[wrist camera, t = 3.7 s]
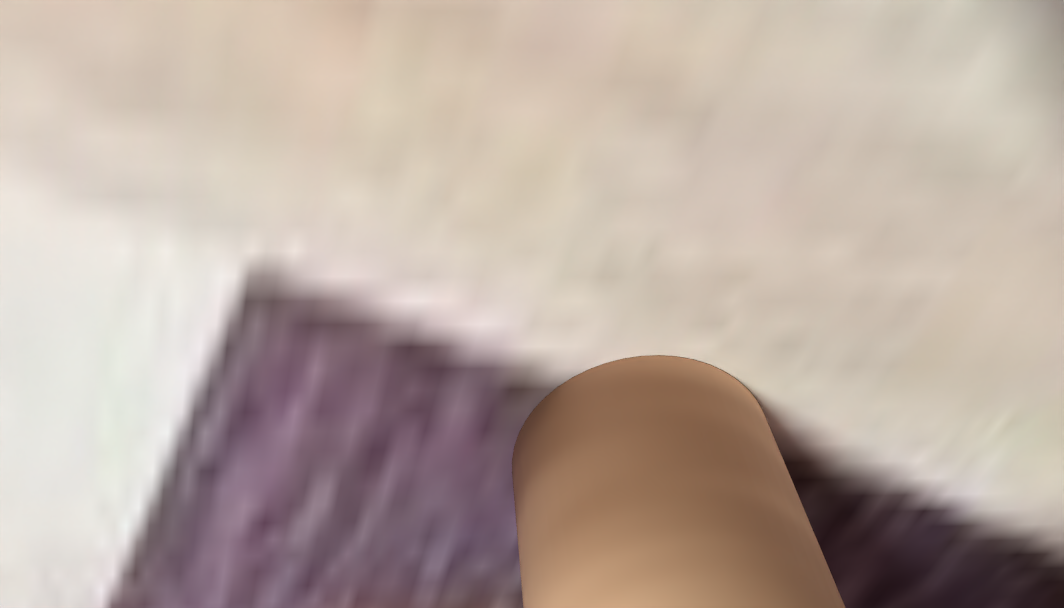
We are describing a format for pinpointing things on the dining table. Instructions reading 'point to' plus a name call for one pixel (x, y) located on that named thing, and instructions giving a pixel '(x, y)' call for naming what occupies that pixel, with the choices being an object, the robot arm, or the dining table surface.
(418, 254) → the dining table surface
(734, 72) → the dining table surface
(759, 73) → the dining table surface
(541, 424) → the pin
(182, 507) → the dining table surface
